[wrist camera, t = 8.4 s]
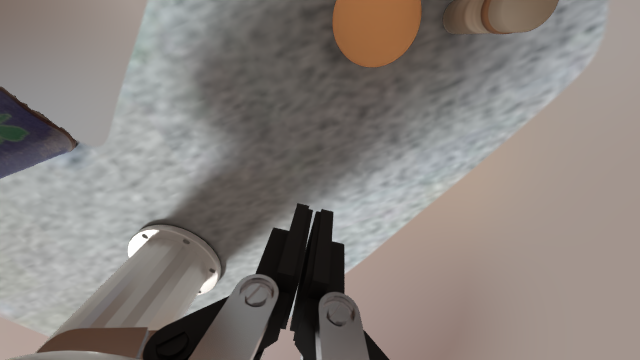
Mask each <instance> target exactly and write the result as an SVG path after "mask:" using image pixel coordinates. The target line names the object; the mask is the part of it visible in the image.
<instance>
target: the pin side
mask: <svg viewBox="0 0 640 360" xmlns="http://www.w3.org/2000/svg"><path fill="white" fill-rule="evenodd" d="M558 1H559V0H454V1H453V2H451V3H450V4H449V6H448V7H447V8H446V10H445V12H444V15H443V25H444V28H445V30H446V31H447V32H449V33H451V34H484V33H493V34H509V33H515V32H527V31H530V30H533V29H535V28H537V27H538V26H540V25H541V24H543V23H544V22H545V21H546V20H547V19H548V18H549V17H550V16H551V14H552V13H553V11H554V10H555V8H556V6H557V3H558Z"/></svg>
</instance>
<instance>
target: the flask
mask: <svg viewBox="0 0 640 360" xmlns="http://www.w3.org/2000/svg"><path fill="white" fill-rule="evenodd" d="M76 142H77V141H76V140H75V139H73V138H72V136H71V135H70V134H69V133H68V132H67V131H65V130H64V129H63V128H62V127H61V128H59V127H58V126H56V125H55V124H54V123H52V122H51V121H50V120H49V119H48V118H46V117H45V116H44V115H43V114H41V113H39V112H37V111H34V110H31V109H30V108H29V107H28V106H27V104H25V103H22V102H20V101H19V100H18V99H17V98H16V96H13V95H12V94H10V93H9V92H8V91H6V90H5V89H4V88H3V87H0V178H3V177H5V176H8V175H10V174H13V173H16V172H18V171H21V170H24V169H26V168H29V167H31V166H34V165H36V164H38V163H41V162H43V161H46V160H48V159H51V158H53V157H56V156H58V155H61V154H64V153H67V152H70V151H72V150H73V149H74V148H75V145H76Z"/></svg>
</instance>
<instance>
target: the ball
mask: <svg viewBox="0 0 640 360" xmlns="http://www.w3.org/2000/svg"><path fill="white" fill-rule="evenodd" d="M420 21H421V0H336V3H335V6H334V11H333V20H332V22H333V32H334V37H335V40H336V42H337V45H338V47H339V48H340V50H341V51H342V53H343V54H344V55H345V56H346V57H347V58H348V59H349V60H351V61H352V62H354V63H355V64H358V65H360V66H364V67H381V66H384V65H387V64H389V63H391V62H393V61H395V60H396V59H398V58H399V57H400V56H401V55H403V54H404V53H405V52H406V50H407V49H408V48H409V47H410V45H411V44H412V42H413V41H414V39H415V37H416V35H417V32H418V29H419V26H420Z"/></svg>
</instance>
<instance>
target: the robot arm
mask: <svg viewBox="0 0 640 360" xmlns="http://www.w3.org/2000/svg"><path fill="white" fill-rule="evenodd" d="M312 212H313V210H310V209H309V206H307V205H303V204H299V203H297V207H296V210H295V214H294V217H293V220H292V224H291V227H290V231H287V230H282V229H278V228H273V230H272V232H271V235H270V237H269V240H268V243H267V245H266V248H265V250H264V253H263V256H262V258H261V261H260V263H259V266H258V269H257V271H256V274H253V275H249V276H247V277H245V278H243V279H242V280H241V281H240V282H239V283H238V284H237V285H236V287H235V289H234V290H233V292H232V293H231V295H230V296H228V297H226V298H224V299H222V300H220V301H217V302H215V303H213V304H211V305H209V306H207V307H204V308H202V309H200V310H198V311H196V312H194V313H191V314H189V315H187V316H185V314H186V312H187V311H188V309H189V307H190V306H191V304H192V302H193V301H194V299H195V297H196V296H197V295H201V294H204V293H207V292H208V291H210V290H212V289H213V288H214V287H215V285H216V284H217V282H218V280H219V278H220V275H221V265H220V261H219V259H218V257H217V255H216V254H215V252H214V251H213V249H212V248H211V247H210V246H209V245H208V244H207V243H206V242H205V241H203V240H202V239H201V238H199V237H198V236H196V235H195V234H193V233H191V232H189V231H187V230H184V229H182V228H178V227H175V226H169V225H152V226H148V227H145V228H143V229H141V230H140V231H139V232H138V233H136V234H135V235H134V236H133V237H132V239H131V240H130V242H129V245H128V254H129V259H128V260H127V261H126V262H125V263H124V264H123V265H122V266H121V267H120V268H119V269H118V270H117V271H116V272H115V273H114V274H113V275H112V276H111V277H110V278H109V279H108V280H107V281H106V282H105V283H104V284H103V285H102V286H101V287H100V288H99V289H98V290H97V291H96V292H95V293H94V294H93V295H92V296H91V297H90V298H89V299H88V300H87V301H86V302H85V303H84V304H83V305H82V306H81V307H80V308H79V309H78V310H77V311H76V312H75V313H74V314H73V315H72V316H71V317H70V318H69V319H68V320H67V321H66V322H65V323H64V324H63V325H62V326H61V327H60V328H59V329H58V330H57V331H56V332H55V333H54V334H53V335H52V336H51V337H50V338H49V339H48V340H47V341H46V342H45V343H44V344H43V345H42V346H41V347H40V348H39V349H38V350H37V351H36V352H35V353H34V354H30V355H25V356H20V357H14V358H10V359H7V360H262V358H263V355H264V353H265V349H266V348H267V347H268V346H270V345H271V344H273V343H274V342H276V341H277V340H278V336H279V333H280V329H286V325H287V322H288V319H289V315H290V312H291V308H292V305H293V301H294V298H295V294H296V290H297V294H296V300H295V305H294V310H293V315H292V321H291V326H290V331H294V332H295V333H294V339H293V341H295V345H296V347H297V348H298V350H299V352H300V353H301V357H300V360H389V359H388V358H387V356H386V355H385V354H384V353H383V352H382V351H381V349H380V348H379V347H378V346H377V345H376V344H375V342H374V341H373V340H372V339H371V338H370V337H369V335H368V334H367V333H366V332H365V331H364V330H363V326H362V321H361V317H360V312H359V309H358V307H357V305H356V304H355V302H354V301H353V300H352V299H351V298H350V297H349V296H347V295H345V294H344V244H341V243H337V242H333V241H332V228H333V212H332V211H328V210H323V209H322V210H321V212H318V211H316V214H315V218H314V221H313V225H312V229H311V232H310V236H309V240H308V243H307V239H308V234H309V228H310V223H311V218H312ZM306 244H307V247H306ZM298 283H299V284H298ZM297 287H298V289H297ZM184 316H185V317H184Z"/></svg>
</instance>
